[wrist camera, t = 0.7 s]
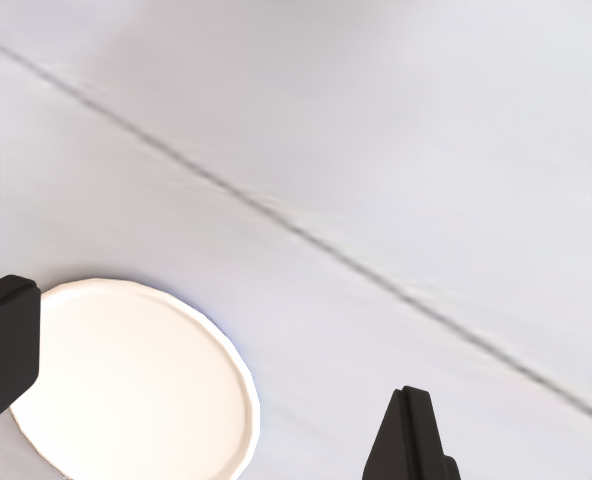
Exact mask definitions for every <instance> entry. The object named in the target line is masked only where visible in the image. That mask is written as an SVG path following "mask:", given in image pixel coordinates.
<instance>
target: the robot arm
mask: <svg viewBox="0 0 592 480" xmlns="http://www.w3.org/2000/svg"><path fill="white" fill-rule="evenodd" d="M40 317H41V291H40V289H39V288H38V287H37V285H36V283H35V281H33V280H31V279H27V278H23V277H20V276H16V275H11V274H10V275H7V276H4V277H2V278H1V279H0V414H1V413H2V412H4V411H5V410H6V409H7V408H8V407H9V406H10V405H11V404H12V403H14V402H15V401H16V400H17V399H18V398H19V397H20V396H21V395H23V394H24V393H25V392H26V391H27V390H28V389H29V388H30V387H31V386H32V385H33V384H34V383H35V381H36V380H37V378H38V375H39V361H40ZM362 480H461V478H460V474H459V470H458V467H457V464H456V461H455V460H454V459H453V458H452V457H450V456H446V455H444V453H443V449H442V445H441V441H440V436H439V432H438V428H437V424H436V419H435V415H434V411H433V407H432V403H431V398H430V395H429V392H427V391H424V390H420V389H417V388H413V387H410V386H404V387H403V389H402V390H398V389H395V391H394V392H393V395H392V397H391V400H390V403H389V405H388V408H387V410H386V413H385V416H384V418H383V421H382V424H381V426H380V429H379V431H378V434H377V437H376V439H375V442H374V444H373V447H372V450H371V452H370V455H369V457H368V460H367V463H366V465H365V468H364V472H363V477H362Z"/></svg>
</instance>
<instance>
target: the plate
mask: <svg viewBox="0 0 592 480" xmlns="http://www.w3.org/2000/svg"><path fill="white" fill-rule="evenodd" d="M9 408H10V410H11V412H12V414H13V416H14V418H15V420H16V422H17V424H18V426H19V428H20V430H21V431H22V433H23V434H24V435H25V436H26V438H27V439H28V440H29V441H30V442H31V444H32V445H33V446H34V447H35V449H36V450H37V451H38V452H39V454H40V455H41V456H42V457H43V458H45V459H46V460H47V461H48V462H49V463H50V464H52V465H53V466H54V467H55V468H56V469H58V470H59V471H60V472H61V473H62V474H63V475H65V476H66V477H68V478H70V479H71V480H236V479H237V477H238V476H239V475H240V473H241V472H242V471H243V470H244V468H245V467H246V466H247V465H248V463H249V462H250V461H251V458H252V455H253V452H254V449H255V446H256V443H257V440H258V438H259V434H260V403H259V400H258V396H257V393H256V390H255V386H254V383H253V380H252V377H251V373H250V371H249V369H248V368H247V366H246V365H245V363H244V361H243V360H242V358H241V357H240V355H239V353H238V352H237V350H236V349H235V347H234V345H233V344H232V342H231V341H230V340H229V339H228V338H227V337H226V336H225V335H224V334H223V333H222V332H221V331H220V330H219V329H218V328H217V327H216V326H215V325H214V324H213V323H212V322H211V321H210V320H209V319H208V318H206V317H205V316H204V315H203V314H202V313H200V312H199V311H197V310H195V309H194V308H192V307H190V306H189V305H187V304H186V303H184V302H182V301H181V300H179V299H177V298H176V297H174V296H173V295H171V294H169V293H166V292H163V291H160V290H157V289H155V288H152V287H149V286H146V285H143V284H140V283H137V282H134V281H127V280H116V279H104V278H90V279H85V280H80V281H74V282H69V283H63V284H60V285H58V286H56V287H54V288H52V289H51V290H49V291H47V292H45V293H43V294H41V317H40V361H39V375H38V378H37V380H36V381H35V383H34V384H33V385H32V386H31V387H30V388H29V389H28V390H27V391H26V392H25V393H24V394H23V395H21V396H20V397H19V398H18V399H17V400H16V401H15V402H14V403H12V404H11V405H10V406H9Z"/></svg>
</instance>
